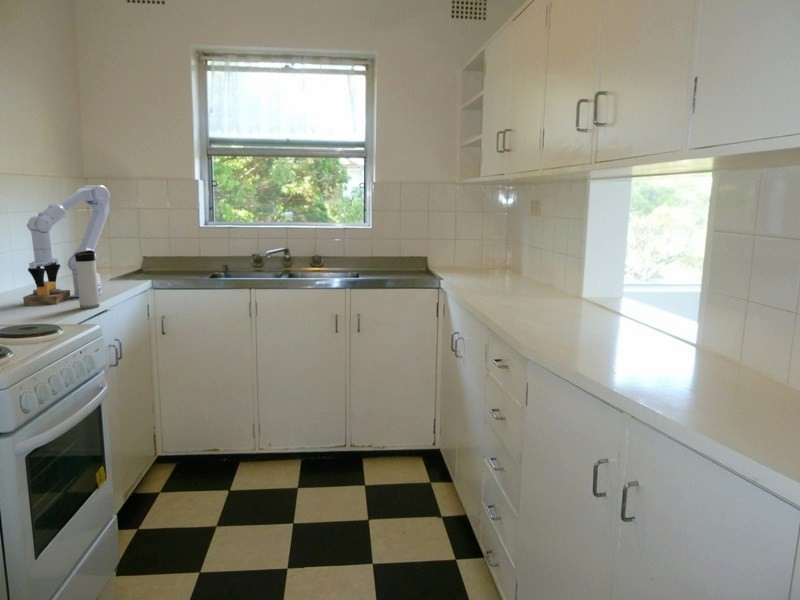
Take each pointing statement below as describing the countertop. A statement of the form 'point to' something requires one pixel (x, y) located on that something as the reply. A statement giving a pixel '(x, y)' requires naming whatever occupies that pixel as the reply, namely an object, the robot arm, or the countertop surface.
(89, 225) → the robot arm
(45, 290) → the orange notched block
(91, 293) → the travel mug
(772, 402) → the countertop surface
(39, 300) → the square wooden frame
